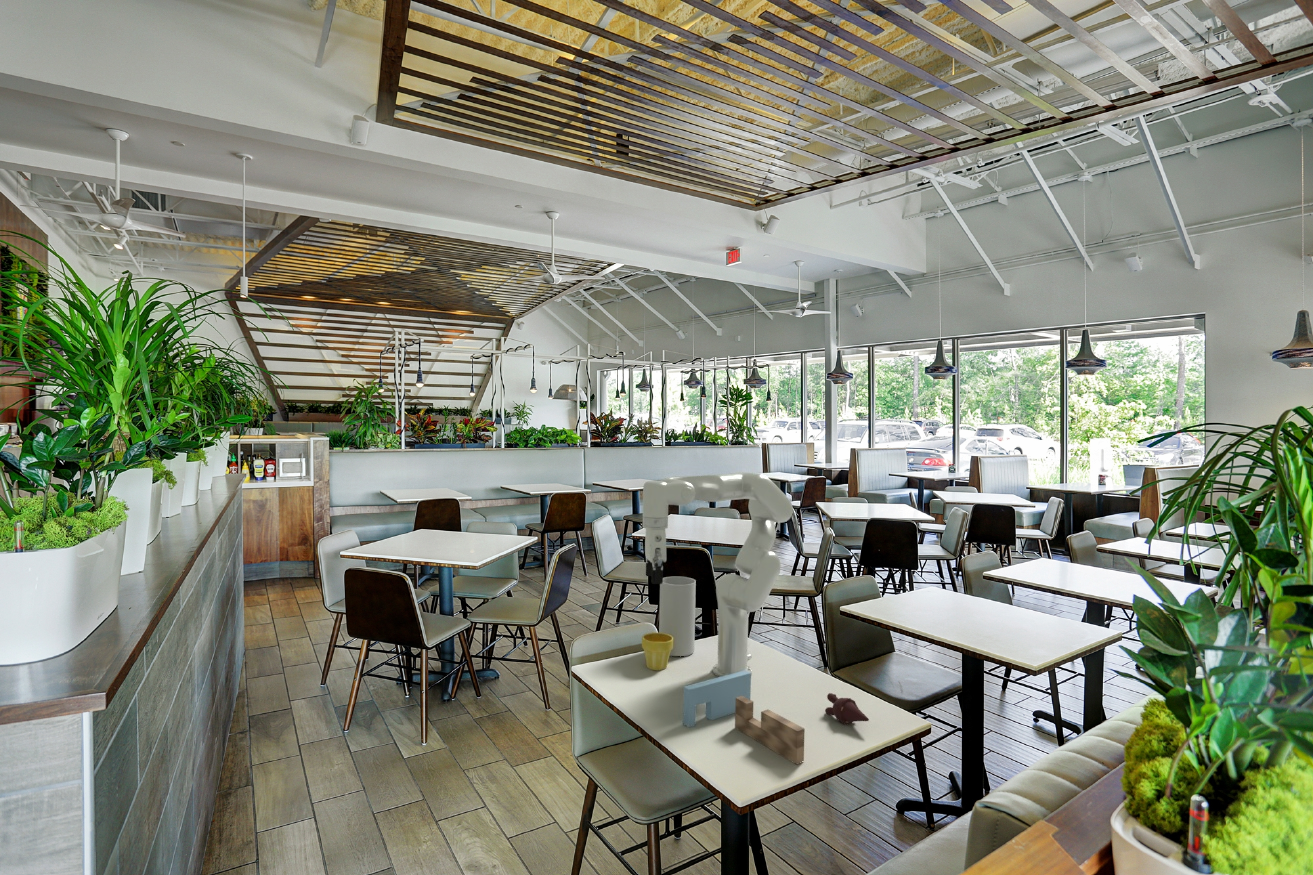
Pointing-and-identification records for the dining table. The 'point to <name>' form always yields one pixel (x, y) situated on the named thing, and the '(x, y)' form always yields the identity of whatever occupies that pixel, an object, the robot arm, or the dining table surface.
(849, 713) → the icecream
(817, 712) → the dining table surface
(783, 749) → the walnut board
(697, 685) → the slotted plate
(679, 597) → the cylinder vase
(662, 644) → the plant pot
